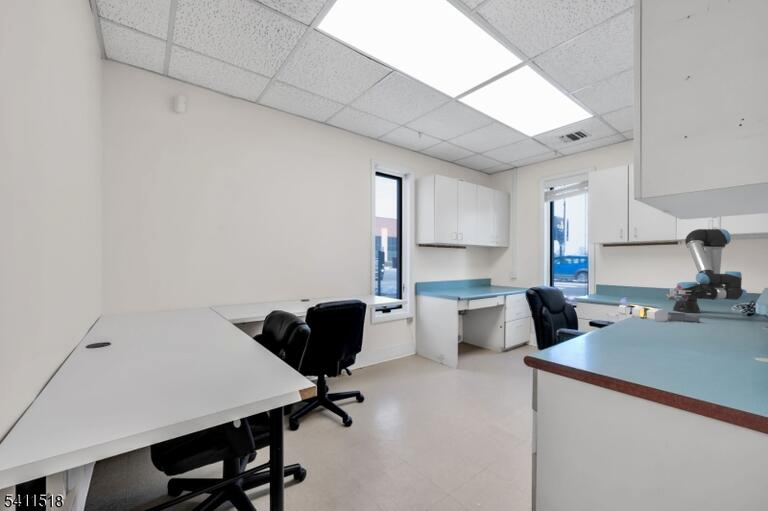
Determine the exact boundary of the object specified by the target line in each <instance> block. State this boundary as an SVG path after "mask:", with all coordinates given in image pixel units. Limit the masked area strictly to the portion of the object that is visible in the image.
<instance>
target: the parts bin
mask: <svg viewBox="0 0 768 511" xmlns="http://www.w3.org/2000/svg"><path fill="white" fill-rule="evenodd" d="M667 312H668V320H667V321H670V322H671V321H672V322H681V321H683V323H694V322H697V323H696V324H699V323H700V317H699V316H697V315H692V314H690V313H687V312H673V311H671V312H669V311H667Z"/></svg>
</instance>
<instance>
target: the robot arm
mask: <svg viewBox="0 0 768 511" xmlns="http://www.w3.org/2000/svg"><path fill="white" fill-rule="evenodd" d="M731 239H732V238H731V235H730V233H729V231H728V230H727V229H724V228H709V229H708V228H699V229H695V230H692V231H691V232H689V233H688V234H687V235H686V237H685V239H684V243H685V246H686V248H688V250H689V252H690V254H691V257H692V260H693V263H694V264H695V267H696V270H697V272H698V273H696V274H695V281H681V282H677V283H676V287H677V286H678V285H680V286H681V287H682V289H683V290H679V294H686V295H688V297H689V298H688V300H687V301H676V300H675V303H674V305H673V309H672V310H673V311H675V312H678V313H687V314H690V313H691V314H700V313H701V309H700V307H699V303H698V300H712V301H715V300H716V301H718V300H719V301H720V300H731V301H732V300H733V301H744V300H746V299H747V298H748V293H747V290H745V289H744V288H742V279H743V276H742V273H741V271H728V270H726V271H725V272H724V273H721V266H722V265H721V264H722V254H723V253H722V252H723V249H725V248H726V245H729V244H730V242H731ZM674 289H675V288H670V289H669V293H670V292H671V291H673V290H674Z"/></svg>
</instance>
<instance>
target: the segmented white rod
mask: <svg viewBox="0 0 768 511" xmlns="http://www.w3.org/2000/svg"><path fill="white" fill-rule="evenodd" d="M627 301H628V300H627V297H626V296H623V298H621V299H620V304H619V306H618V313H619V315H620V316H621V315H622V316H627V313H626V309H627V307H630V308H629V315H631V316H632V317H633V316H635V317H634V318H636V317H637V319H641V317H642V318H646V317H647V318H646V319H647V320H648V321H651V320H652V321H651V322H667V321H668V320H667V319H668V312H669V311H667V310H665V309H662V308H656V307H650V306H642V305H637V304H630V303H627Z"/></svg>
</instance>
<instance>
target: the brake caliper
mask: <svg viewBox="0 0 768 511" xmlns="http://www.w3.org/2000/svg"><path fill="white" fill-rule="evenodd" d="M673 289H674V290H673V291H671V292H670V291H669V294H665V297H667V301H669V300H670V301H671V300H672V301H675V302H676V301H687V300H688V298H689V297H688V295H686V294H679V290H683V289H682V287H681V286H680V285H678V286H677V285H676V287H675V288H673Z"/></svg>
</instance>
